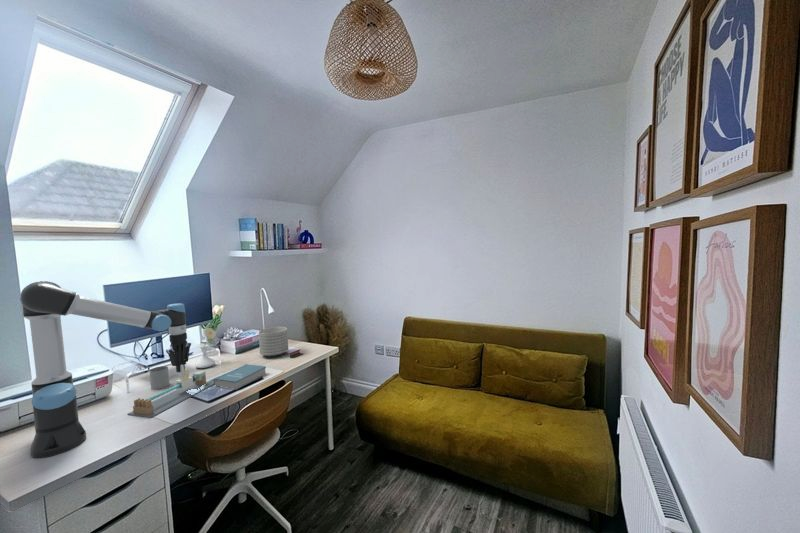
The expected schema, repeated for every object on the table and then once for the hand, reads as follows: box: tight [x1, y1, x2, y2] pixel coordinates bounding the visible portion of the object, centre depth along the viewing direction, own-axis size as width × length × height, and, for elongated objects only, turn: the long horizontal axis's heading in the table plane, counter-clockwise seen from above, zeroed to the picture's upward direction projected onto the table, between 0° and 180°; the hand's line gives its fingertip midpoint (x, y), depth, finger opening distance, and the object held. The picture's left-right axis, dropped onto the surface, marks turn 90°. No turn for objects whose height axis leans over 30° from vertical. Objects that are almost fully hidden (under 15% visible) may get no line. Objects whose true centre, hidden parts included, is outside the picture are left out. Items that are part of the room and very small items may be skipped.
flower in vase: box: [195, 327, 217, 369], centre depth 210 cm, size 13×11×25 cm
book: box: [213, 363, 267, 391], centre depth 187 cm, size 23×16×5 cm
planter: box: [258, 326, 289, 358], centre depth 229 cm, size 19×19×18 cm
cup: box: [149, 365, 170, 390], centre depth 181 cm, size 8×8×10 cm
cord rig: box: [127, 370, 214, 419], centre depth 165 cm, size 36×14×7 cm, turn 166°
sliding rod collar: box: [175, 368, 193, 390], centre depth 171 cm, size 6×5×10 cm
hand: (181, 377), depth 169 cm, fingers closed
